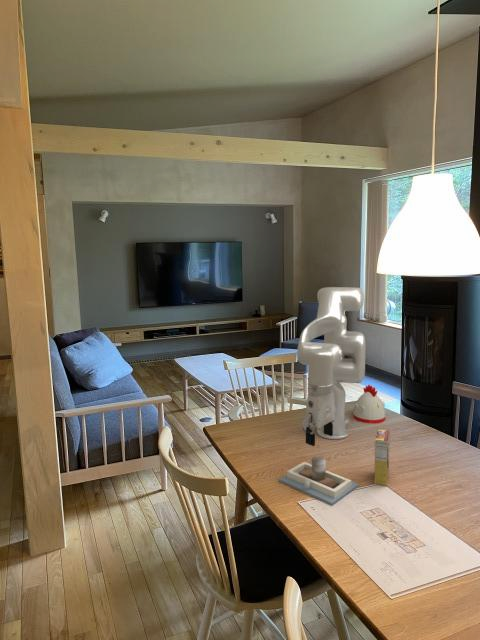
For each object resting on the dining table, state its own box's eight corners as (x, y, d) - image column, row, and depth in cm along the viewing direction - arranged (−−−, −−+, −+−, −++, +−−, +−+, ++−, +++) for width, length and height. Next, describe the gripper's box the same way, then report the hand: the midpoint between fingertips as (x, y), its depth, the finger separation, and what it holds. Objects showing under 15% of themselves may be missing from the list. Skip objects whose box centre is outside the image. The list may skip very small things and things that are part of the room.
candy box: (375, 471, 155) (377, 428, 153) (389, 473, 154) (390, 430, 151) (373, 484, 147) (374, 439, 144) (387, 486, 145) (389, 441, 143)
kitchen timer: (366, 425, 194) (368, 391, 192) (346, 415, 207) (347, 383, 204) (392, 420, 200) (393, 387, 198) (370, 410, 212) (372, 379, 210)
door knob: (339, 486, 144) (339, 464, 143) (330, 491, 141) (331, 469, 140) (307, 471, 154) (307, 450, 152) (298, 476, 151) (298, 455, 149)
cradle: (306, 465, 160) (306, 456, 159) (358, 486, 145) (358, 476, 145) (279, 481, 149) (279, 471, 149) (332, 505, 135) (332, 495, 134)
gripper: (313, 398, 134) (313, 452, 137) (345, 384, 146) (344, 434, 149) (293, 392, 139) (293, 445, 142) (325, 379, 151) (325, 427, 154)
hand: (319, 439), depth 145 cm, fingers open, 9 cm apart
